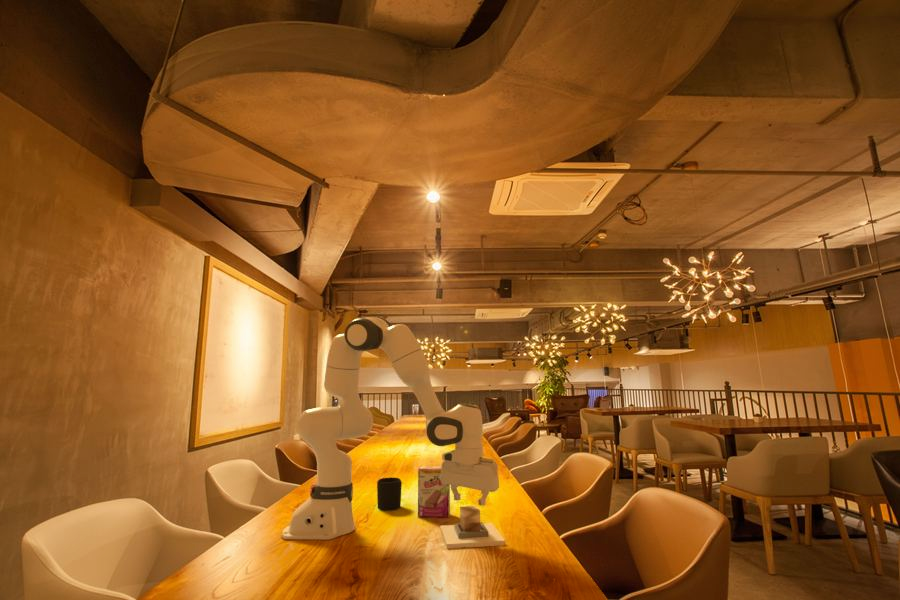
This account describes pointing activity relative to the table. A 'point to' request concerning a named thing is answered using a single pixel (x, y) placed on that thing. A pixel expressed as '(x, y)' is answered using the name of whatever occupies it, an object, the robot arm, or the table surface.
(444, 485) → the candy bar box
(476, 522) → the tan rectangular block
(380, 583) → the table surface
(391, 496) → the pen holder
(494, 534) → the base plate
